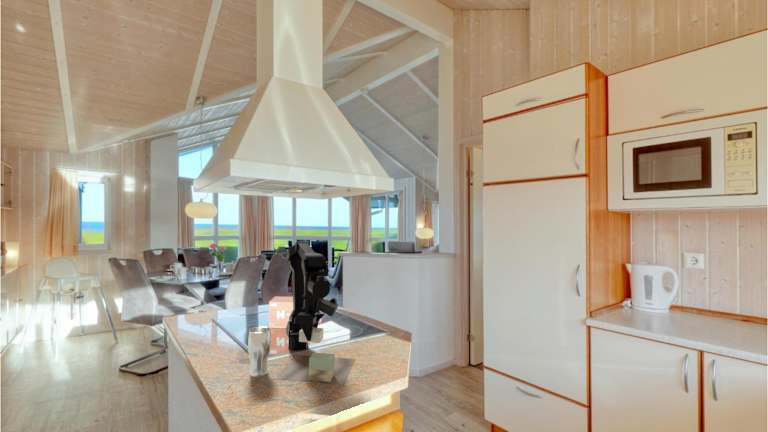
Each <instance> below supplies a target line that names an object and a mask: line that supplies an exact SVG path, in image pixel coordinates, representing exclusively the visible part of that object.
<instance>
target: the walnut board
mask: <svg viewBox="0 0 768 432" xmlns="http://www.w3.org/2000/svg"><path fill="white" fill-rule="evenodd" d="M310 357H311V355H309V354H308V355H305V354H296V355H295V356H294V357H293V358H292V359H291V360H290V362H288V364H287V365H286V366H285V367H284V368H283V369H282V370H281V371H280V373H279V374H278V375H277V376H276V377H275V378H274V380H277V381H278V380H279V381H289V382H299V383H300V382H302V383H315V384H327V385H335V386H336V385H338V386H339V385H340V386H344V385H345V383H346V381H347V378H348V376H349V375H350V373H351V370H352V369H353V368H352V367H353V365H354V363H355V362H356V359H355V358H343V357H334V376H333V378H332V380H331V382H325V381H313V380H309V358H310Z"/></svg>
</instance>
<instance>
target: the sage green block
mask: <svg viewBox="0 0 768 432" xmlns="http://www.w3.org/2000/svg"><path fill="white" fill-rule="evenodd" d="M310 356H311V357H310V358H309V369H312V370H324V371H331V370H332V368H333V366H334V358H336V357H335V354H334V353H325V352H313V353H312V354H311V355H310Z"/></svg>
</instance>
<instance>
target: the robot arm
mask: <svg viewBox="0 0 768 432" xmlns="http://www.w3.org/2000/svg"><path fill="white" fill-rule="evenodd" d="M286 251H287V252H286V261H287V266H288V268H289V269H290V271H291V272H292V311H291V312H290V314H289V316H288V317H289V318H288V322H287V324H286V328H285V334H286V336H287V338H288V350H290V351H291V350H292V351H294V352H296V351H306V350H307V349H308V348H309V342H299V331H300V330H301V329H302V330H303V332H304V334H305V336H306V339H307V341H311V337H312V332H313V328H319V325H320V323H319V322H320V320H321V319H322V318H323V317H324V316H325V315H327V316H329V317H333V316H334V315H335V314H336V312H337V309H338V308H339V304H338V303H337V302H338V300H337V298H334V297H332V298H330V300H329V299H325V298H326V297H327V296H328V295H329V294H330V291H331V286H330V284H329V282H328V281H327V280H325V277H329V272H330V269H329V267H328V262H327V260H326V257H325V256H324V255H323V254H321V253H318V252H315V251H314V250H313V248H312V247H311V246H310V242H309V241H296V242H294V245H292V246H290V247H288V249H287V250H286Z"/></svg>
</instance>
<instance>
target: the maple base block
mask: <svg viewBox="0 0 768 432" xmlns="http://www.w3.org/2000/svg"><path fill="white" fill-rule="evenodd" d="M333 376H334V366H333V368H332V370H331V371H324V370H312V369H309V380H313V381H325V382H331V380H332V378H333Z"/></svg>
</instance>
